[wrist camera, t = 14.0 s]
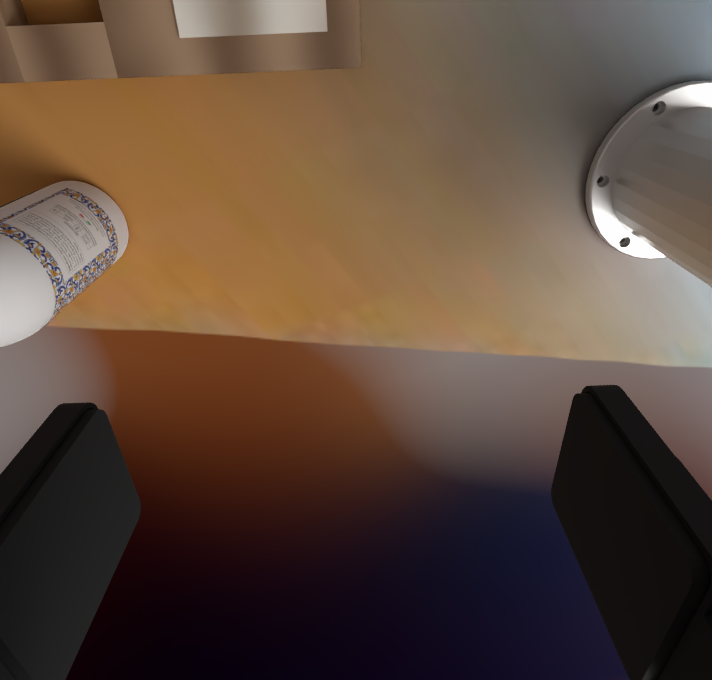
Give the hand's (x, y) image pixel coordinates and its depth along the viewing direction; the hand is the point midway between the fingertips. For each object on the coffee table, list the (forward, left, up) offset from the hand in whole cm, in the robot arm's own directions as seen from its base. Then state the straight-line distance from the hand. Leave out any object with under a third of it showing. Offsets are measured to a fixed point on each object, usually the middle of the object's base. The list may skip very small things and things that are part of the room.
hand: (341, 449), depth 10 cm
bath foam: (+21, +4, -31) cm, 37 cm away
